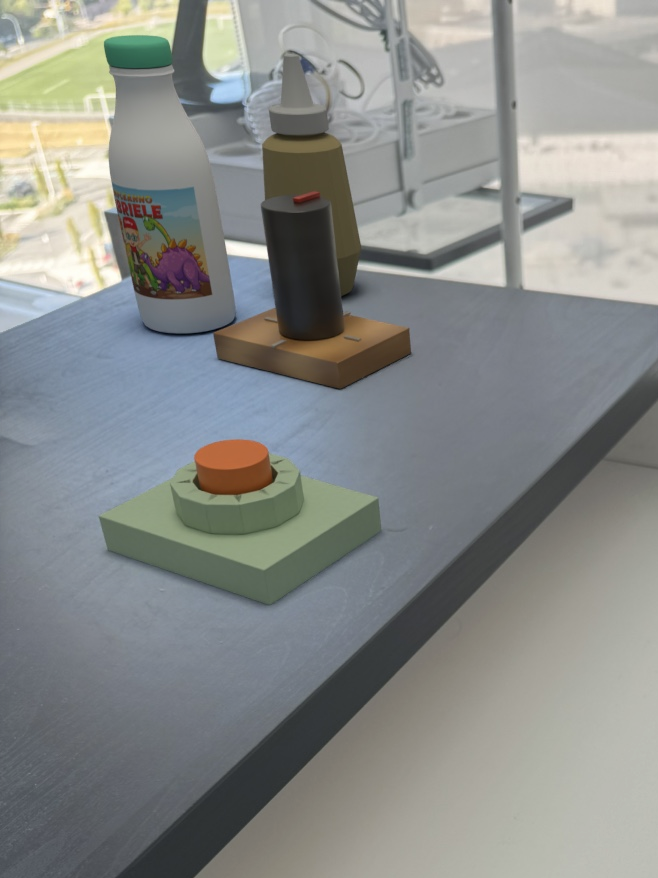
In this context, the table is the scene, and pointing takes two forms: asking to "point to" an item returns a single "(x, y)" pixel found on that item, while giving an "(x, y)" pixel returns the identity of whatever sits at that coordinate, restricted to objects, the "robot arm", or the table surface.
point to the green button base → (244, 530)
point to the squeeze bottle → (310, 163)
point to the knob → (303, 265)
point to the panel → (314, 349)
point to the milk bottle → (165, 195)
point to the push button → (233, 467)
